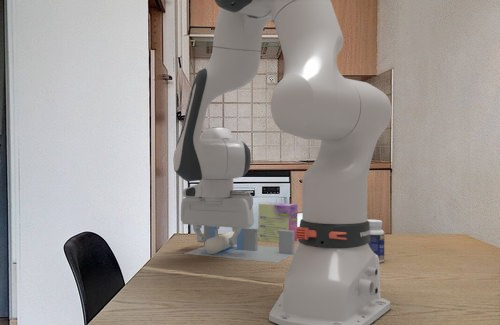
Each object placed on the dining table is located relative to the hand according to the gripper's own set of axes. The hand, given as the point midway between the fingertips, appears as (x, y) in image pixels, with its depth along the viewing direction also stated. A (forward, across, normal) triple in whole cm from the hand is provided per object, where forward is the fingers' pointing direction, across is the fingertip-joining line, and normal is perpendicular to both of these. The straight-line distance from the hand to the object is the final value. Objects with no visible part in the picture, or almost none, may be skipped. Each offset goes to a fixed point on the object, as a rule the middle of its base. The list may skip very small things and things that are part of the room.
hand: (216, 243), depth 119 cm
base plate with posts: (+3, -6, -4) cm, 8 cm away
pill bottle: (+3, -38, -10) cm, 39 cm away
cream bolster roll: (+2, 0, -2) cm, 3 cm away
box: (+3, -8, -23) cm, 25 cm away
